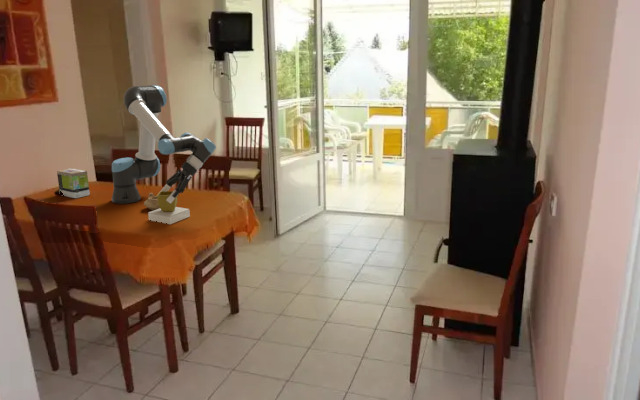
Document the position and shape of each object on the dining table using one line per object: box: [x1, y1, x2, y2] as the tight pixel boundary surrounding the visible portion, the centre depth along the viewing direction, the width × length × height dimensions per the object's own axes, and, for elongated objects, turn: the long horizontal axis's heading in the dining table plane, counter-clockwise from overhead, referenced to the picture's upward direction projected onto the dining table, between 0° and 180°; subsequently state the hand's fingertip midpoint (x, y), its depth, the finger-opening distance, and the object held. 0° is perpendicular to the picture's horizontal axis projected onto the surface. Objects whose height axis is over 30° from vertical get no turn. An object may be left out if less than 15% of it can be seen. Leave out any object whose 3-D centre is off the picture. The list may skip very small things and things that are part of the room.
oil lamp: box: [143, 192, 160, 211], centre depth 267 cm, size 11×15×8 cm
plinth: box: [147, 206, 191, 225], centre depth 252 cm, size 14×14×4 cm
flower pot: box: [156, 190, 179, 212], centre depth 251 cm, size 9×9×9 cm
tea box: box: [56, 167, 91, 199], centre depth 293 cm, size 15×10×15 cm, turn 58°
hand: (164, 198), depth 249 cm, fingers open, 13 cm apart
